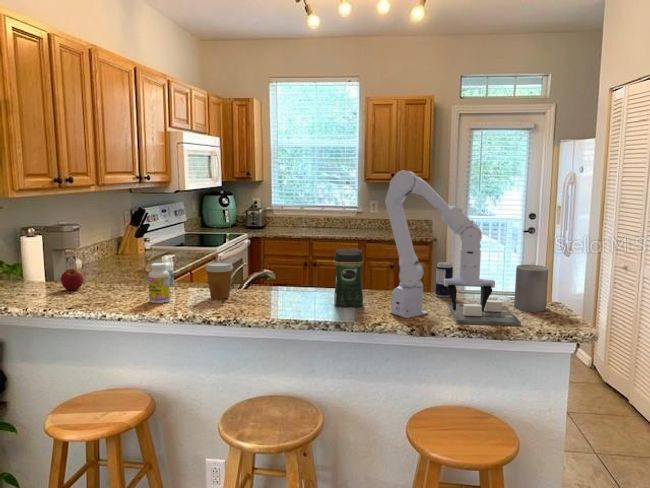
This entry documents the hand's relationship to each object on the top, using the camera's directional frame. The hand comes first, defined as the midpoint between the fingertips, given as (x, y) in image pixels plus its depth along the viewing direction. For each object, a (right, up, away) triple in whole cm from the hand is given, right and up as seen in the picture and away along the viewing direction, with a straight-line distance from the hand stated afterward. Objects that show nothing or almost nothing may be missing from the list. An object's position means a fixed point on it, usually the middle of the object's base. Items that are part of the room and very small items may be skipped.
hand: (467, 310), depth 147 cm
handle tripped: (+1, -1, 0) cm, 2 cm away
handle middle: (+9, -1, +5) cm, 10 cm away
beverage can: (0, +1, +29) cm, 29 cm away
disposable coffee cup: (-80, +1, +24) cm, 83 cm away
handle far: (+10, 0, +11) cm, 15 cm away
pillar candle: (+24, -1, +13) cm, 27 cm away
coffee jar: (-35, -1, +16) cm, 39 cm away
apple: (-136, +3, +34) cm, 140 cm away
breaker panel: (+5, -2, +4) cm, 7 cm away
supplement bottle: (-99, 0, +18) cm, 100 cm away
